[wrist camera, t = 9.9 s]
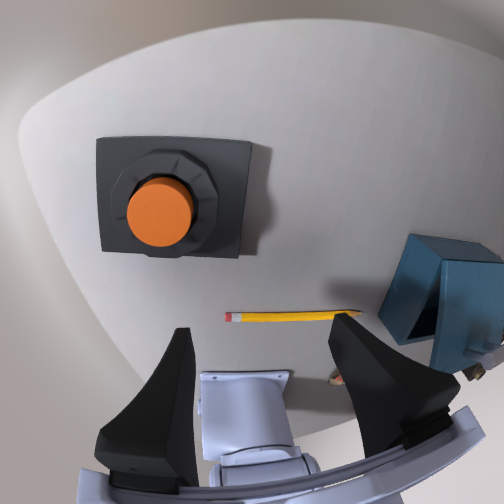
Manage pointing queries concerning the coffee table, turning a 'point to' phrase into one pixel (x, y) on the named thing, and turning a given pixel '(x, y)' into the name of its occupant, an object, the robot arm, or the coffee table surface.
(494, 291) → the blue box lid
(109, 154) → the control block
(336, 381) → the matchbox
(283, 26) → the coffee table surface
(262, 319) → the pencil
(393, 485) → the robot arm
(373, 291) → the coffee table surface
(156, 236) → the button
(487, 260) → the blue box
